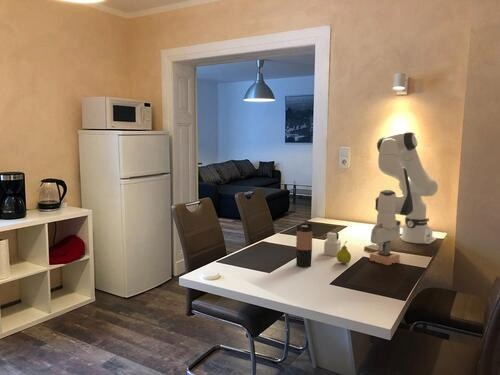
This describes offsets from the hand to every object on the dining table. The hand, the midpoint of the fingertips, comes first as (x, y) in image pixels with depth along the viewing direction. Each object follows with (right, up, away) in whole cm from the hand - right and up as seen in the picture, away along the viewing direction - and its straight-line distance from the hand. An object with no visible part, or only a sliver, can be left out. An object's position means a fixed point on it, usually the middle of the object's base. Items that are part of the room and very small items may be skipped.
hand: (384, 249), depth 205 cm
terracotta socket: (0, -6, +1) cm, 6 cm away
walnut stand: (+1, -4, +19) cm, 19 cm away
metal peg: (0, -4, +1) cm, 4 cm away
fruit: (-22, -7, -4) cm, 23 cm away
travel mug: (-42, -7, -7) cm, 43 cm away
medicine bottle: (-24, -5, +12) cm, 27 cm away
